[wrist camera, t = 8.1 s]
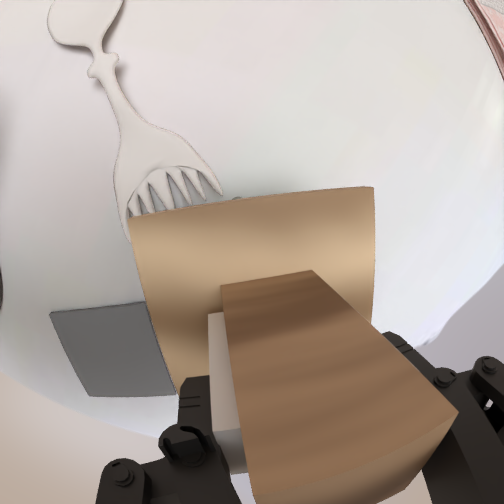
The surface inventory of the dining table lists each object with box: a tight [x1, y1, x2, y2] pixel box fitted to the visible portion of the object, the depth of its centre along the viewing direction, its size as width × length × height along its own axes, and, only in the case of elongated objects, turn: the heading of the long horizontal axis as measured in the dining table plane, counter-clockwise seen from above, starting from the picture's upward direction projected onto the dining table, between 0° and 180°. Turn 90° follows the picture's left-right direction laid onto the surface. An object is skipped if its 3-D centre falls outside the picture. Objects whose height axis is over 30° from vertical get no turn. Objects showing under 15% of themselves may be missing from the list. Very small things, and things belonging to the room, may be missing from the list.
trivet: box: [49, 302, 176, 397], centre depth 25 cm, size 12×12×1 cm
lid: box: [127, 186, 459, 504], centre depth 9 cm, size 12×12×11 cm
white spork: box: [47, 0, 223, 244], centre depth 17 cm, size 9×32×4 cm, turn 26°
